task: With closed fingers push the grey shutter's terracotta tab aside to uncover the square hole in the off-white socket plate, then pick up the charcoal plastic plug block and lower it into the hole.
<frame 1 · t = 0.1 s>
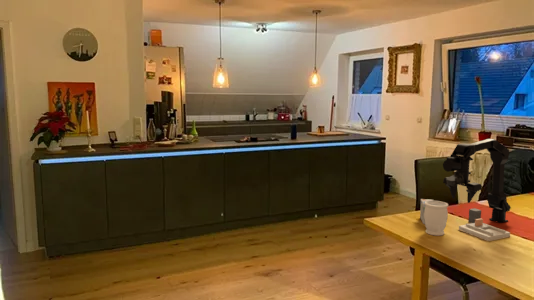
hand: (460, 200, 204), 14 cm above the table, fingers open, 9 cm apart
light bulb box: (427, 221, 218), on the table
plug: (474, 222, 215), on the table
jar: (434, 233, 201), on the table
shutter: (478, 222, 202), point 4 cm above the table, slide at 0.0 cm
socket plate: (483, 233, 199), on the table
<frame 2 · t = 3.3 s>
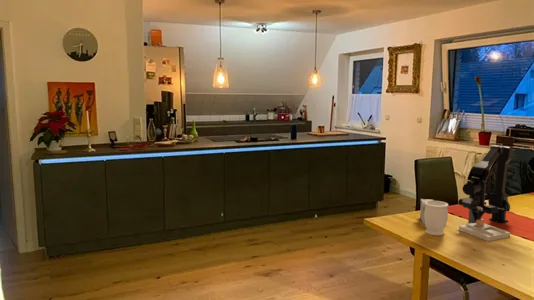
hand: (476, 222, 203), 4 cm above the table, fingers closed
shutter: (480, 223, 201), point 4 cm above the table, slide at 0.7 cm, touching gripper
everything else where it was.
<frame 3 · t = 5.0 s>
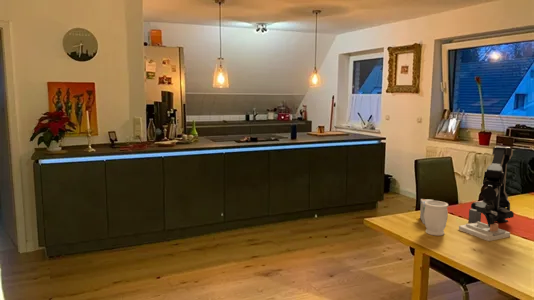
hand: (490, 227, 196), 4 cm above the table, fingers closed
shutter: (494, 228, 194), point 4 cm above the table, slide at 8.4 cm, touching gripper
everything else where it was.
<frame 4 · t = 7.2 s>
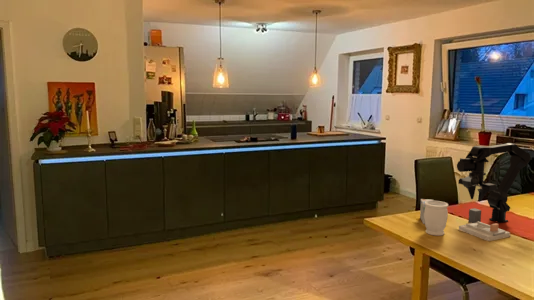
hand: (475, 200, 213), 12 cm above the table, fingers open, 4 cm apart
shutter: (494, 228, 194), point 4 cm above the table, slide at 8.4 cm
everything else where it was.
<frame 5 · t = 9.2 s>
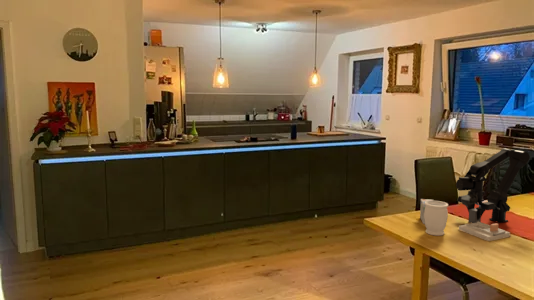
hand: (474, 218, 214), 2 cm above the table, fingers closed on plug, 4 cm apart
plug: (474, 222, 215), on the table, touching gripper
everything else where it was.
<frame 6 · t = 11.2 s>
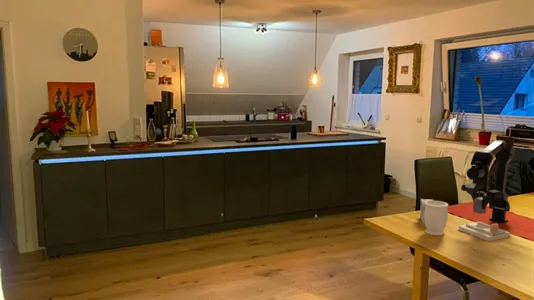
hand: (479, 207, 200), 12 cm above the table, fingers closed on plug, 4 cm apart
plug: (479, 212, 201), point 10 cm above the table, touching gripper
everything else where it was.
when the fingers open (3 cm above the table, at t = 13.4 s): plug drops 1 cm, resting in socket plate.
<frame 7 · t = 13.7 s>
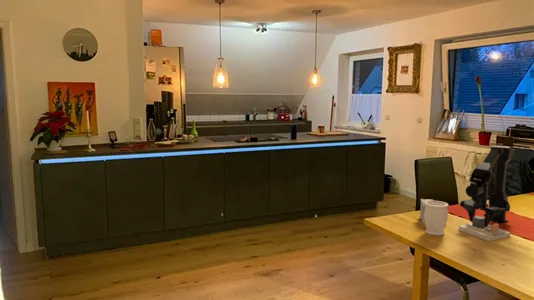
hand: (478, 224, 202), 3 cm above the table, fingers open, 8 cm apart
plug: (478, 231, 202), resting in socket plate
everything else where it was.
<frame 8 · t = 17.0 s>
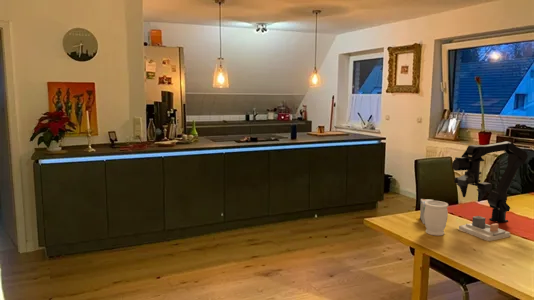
hand: (471, 199, 213), 13 cm above the table, fingers open, 9 cm apart
nothing on the table moved.
at the end: plug 0.0 cm from the target spot on the socket plate, point 0.0 cm above the socket plate's base; plug tilted 0°; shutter slide at 8.4 cm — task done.
